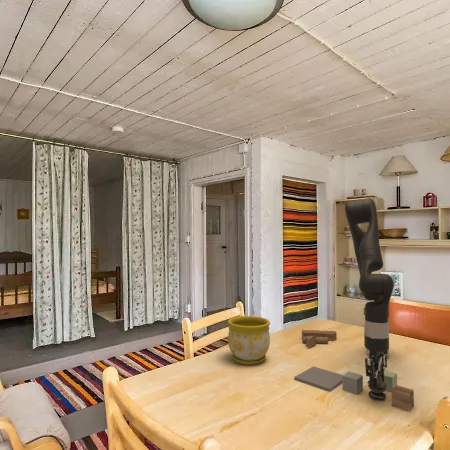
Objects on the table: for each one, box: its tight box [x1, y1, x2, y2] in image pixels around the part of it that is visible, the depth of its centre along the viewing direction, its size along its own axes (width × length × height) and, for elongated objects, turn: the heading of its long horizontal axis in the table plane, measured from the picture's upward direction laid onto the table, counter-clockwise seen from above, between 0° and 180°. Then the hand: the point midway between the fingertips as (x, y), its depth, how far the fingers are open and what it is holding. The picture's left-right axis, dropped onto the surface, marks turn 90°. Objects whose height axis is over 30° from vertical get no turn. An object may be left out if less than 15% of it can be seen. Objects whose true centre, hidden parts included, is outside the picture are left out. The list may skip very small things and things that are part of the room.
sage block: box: [384, 369, 398, 393], centre depth 121 cm, size 5×5×5 cm
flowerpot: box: [227, 315, 271, 366], centre depth 147 cm, size 18×18×16 cm
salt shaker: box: [367, 364, 387, 399], centre depth 114 cm, size 6×6×12 cm
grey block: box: [342, 371, 364, 395], centre depth 119 cm, size 5×5×5 cm
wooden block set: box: [301, 329, 338, 350], centre depth 169 cm, size 17×6×18 cm
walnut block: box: [391, 384, 415, 412], centre depth 108 cm, size 5×5×5 cm
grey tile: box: [293, 366, 344, 393], centre depth 127 cm, size 14×14×1 cm
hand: (376, 385), depth 114 cm, fingers closed on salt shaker, 6 cm apart
